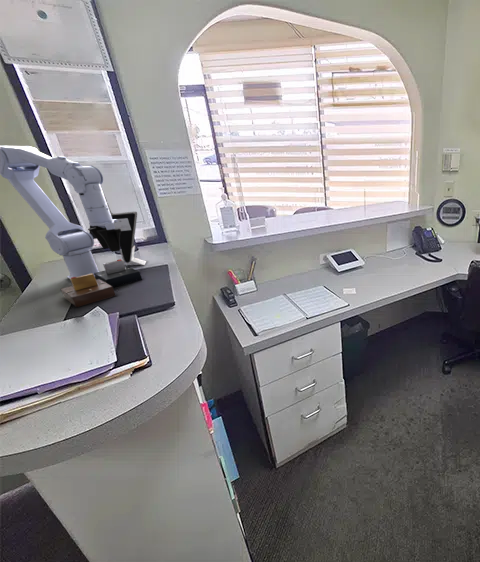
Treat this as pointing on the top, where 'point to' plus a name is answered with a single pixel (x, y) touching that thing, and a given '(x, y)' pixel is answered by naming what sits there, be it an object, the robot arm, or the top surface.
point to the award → (126, 235)
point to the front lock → (83, 281)
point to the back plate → (119, 277)
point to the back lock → (114, 266)
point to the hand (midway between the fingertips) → (111, 249)
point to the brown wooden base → (88, 293)
